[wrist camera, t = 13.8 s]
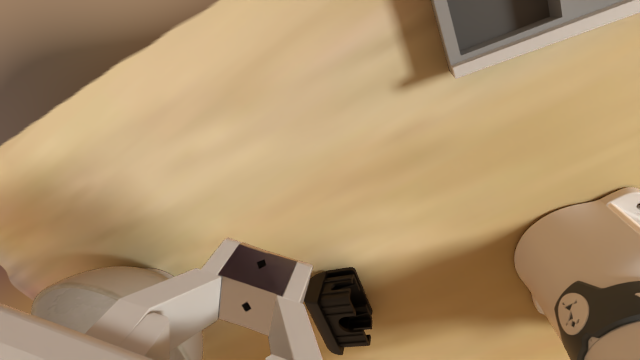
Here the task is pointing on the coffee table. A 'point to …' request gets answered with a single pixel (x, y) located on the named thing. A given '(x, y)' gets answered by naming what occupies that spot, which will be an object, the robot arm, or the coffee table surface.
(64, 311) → the decorative bowl
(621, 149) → the coffee table surface
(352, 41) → the coffee table surface
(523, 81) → the coffee table surface
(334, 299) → the end cap
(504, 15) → the lane
